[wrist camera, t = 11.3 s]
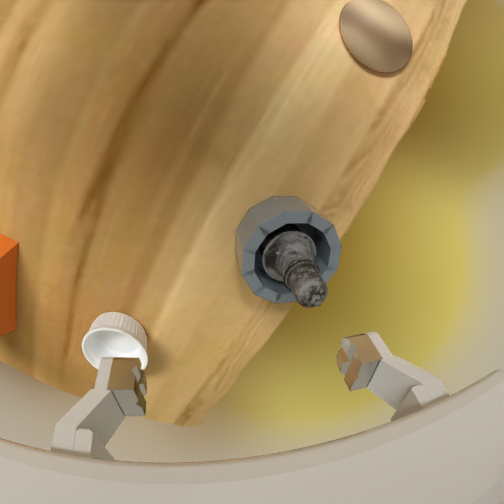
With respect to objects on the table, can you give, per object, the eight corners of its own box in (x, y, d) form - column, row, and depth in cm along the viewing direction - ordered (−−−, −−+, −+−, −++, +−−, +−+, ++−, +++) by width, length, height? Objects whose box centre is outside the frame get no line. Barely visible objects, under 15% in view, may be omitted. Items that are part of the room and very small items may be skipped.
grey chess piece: (313, 248, 35) (359, 309, 25) (270, 274, 36) (302, 343, 25) (292, 209, 32) (339, 260, 22) (246, 236, 33) (271, 300, 22)
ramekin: (96, 353, 38) (90, 375, 34) (83, 305, 34) (73, 326, 30) (153, 356, 39) (151, 379, 36) (146, 308, 36) (143, 330, 32)
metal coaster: (339, -12, 22) (341, -14, 21) (408, 13, 24) (411, 12, 23) (338, 61, 26) (340, 61, 26) (408, 81, 28) (411, 81, 27)
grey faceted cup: (237, 196, 31) (244, 211, 27) (327, 197, 33) (347, 211, 29) (234, 281, 36) (240, 305, 32) (315, 276, 38) (330, 298, 33)
